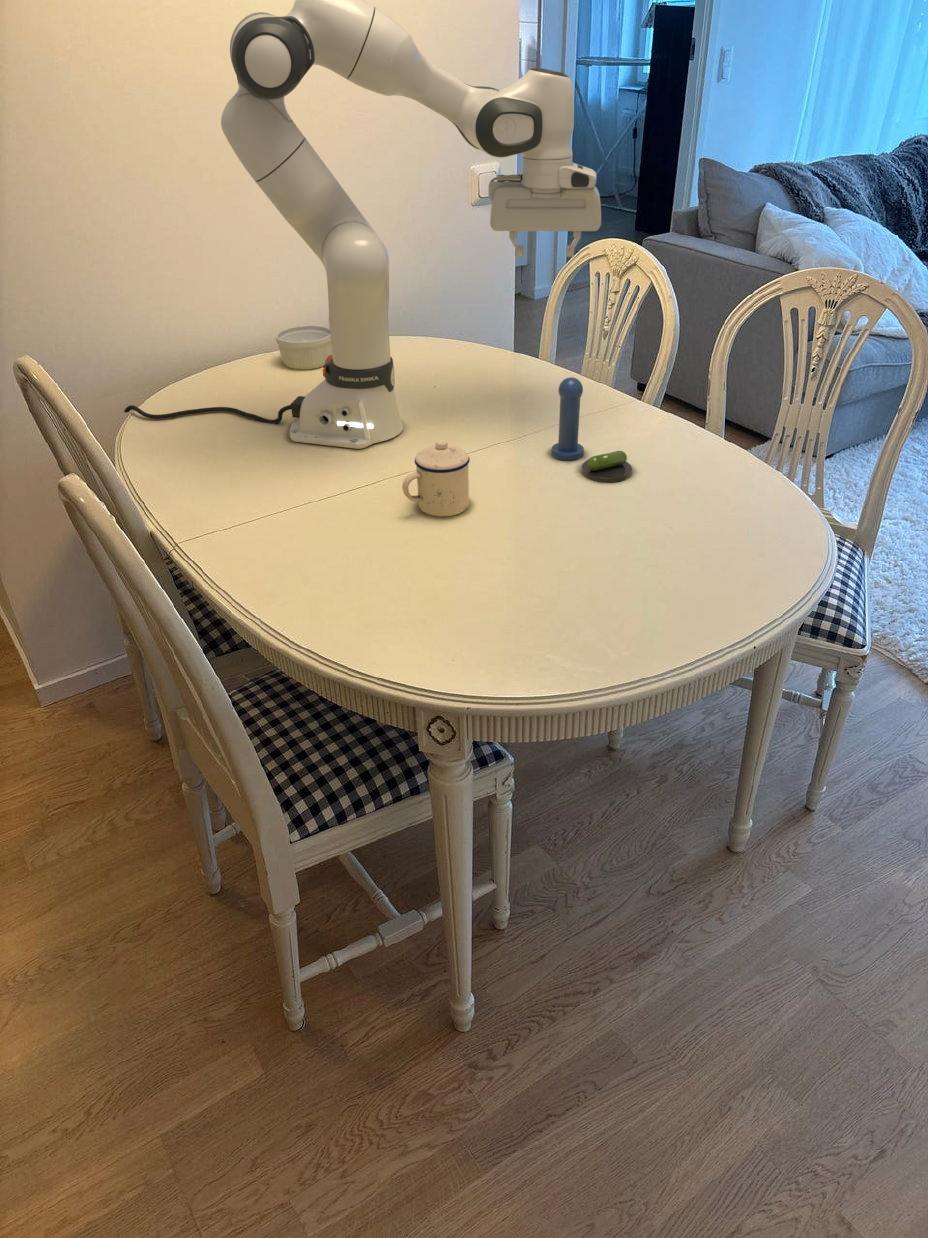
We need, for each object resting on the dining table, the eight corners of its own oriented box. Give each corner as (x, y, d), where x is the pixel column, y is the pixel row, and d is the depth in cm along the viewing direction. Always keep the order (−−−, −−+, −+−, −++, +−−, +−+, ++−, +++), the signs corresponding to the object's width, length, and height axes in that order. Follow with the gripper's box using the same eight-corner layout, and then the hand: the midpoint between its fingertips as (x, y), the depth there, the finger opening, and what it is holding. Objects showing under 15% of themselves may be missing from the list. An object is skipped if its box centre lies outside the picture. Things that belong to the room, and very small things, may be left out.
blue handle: (551, 460, 169) (554, 383, 161) (551, 446, 174) (554, 371, 166) (583, 461, 169) (588, 384, 160) (583, 447, 174) (588, 372, 165)
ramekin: (271, 370, 212) (267, 340, 208) (289, 352, 223) (286, 323, 219) (326, 372, 210) (323, 342, 206) (342, 354, 221) (339, 325, 217)
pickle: (597, 486, 160) (599, 468, 158) (572, 466, 167) (573, 449, 165) (641, 476, 163) (643, 458, 161) (614, 457, 170) (615, 440, 168)
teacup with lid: (453, 488, 160) (451, 426, 154) (480, 509, 154) (479, 444, 147) (392, 506, 156) (388, 442, 149) (418, 527, 149) (414, 462, 142)
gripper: (487, 177, 160) (487, 259, 168) (604, 176, 158) (599, 260, 166) (489, 171, 166) (490, 251, 173) (603, 170, 164) (598, 251, 171)
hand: (544, 255), depth 170 cm, fingers open, 8 cm apart
